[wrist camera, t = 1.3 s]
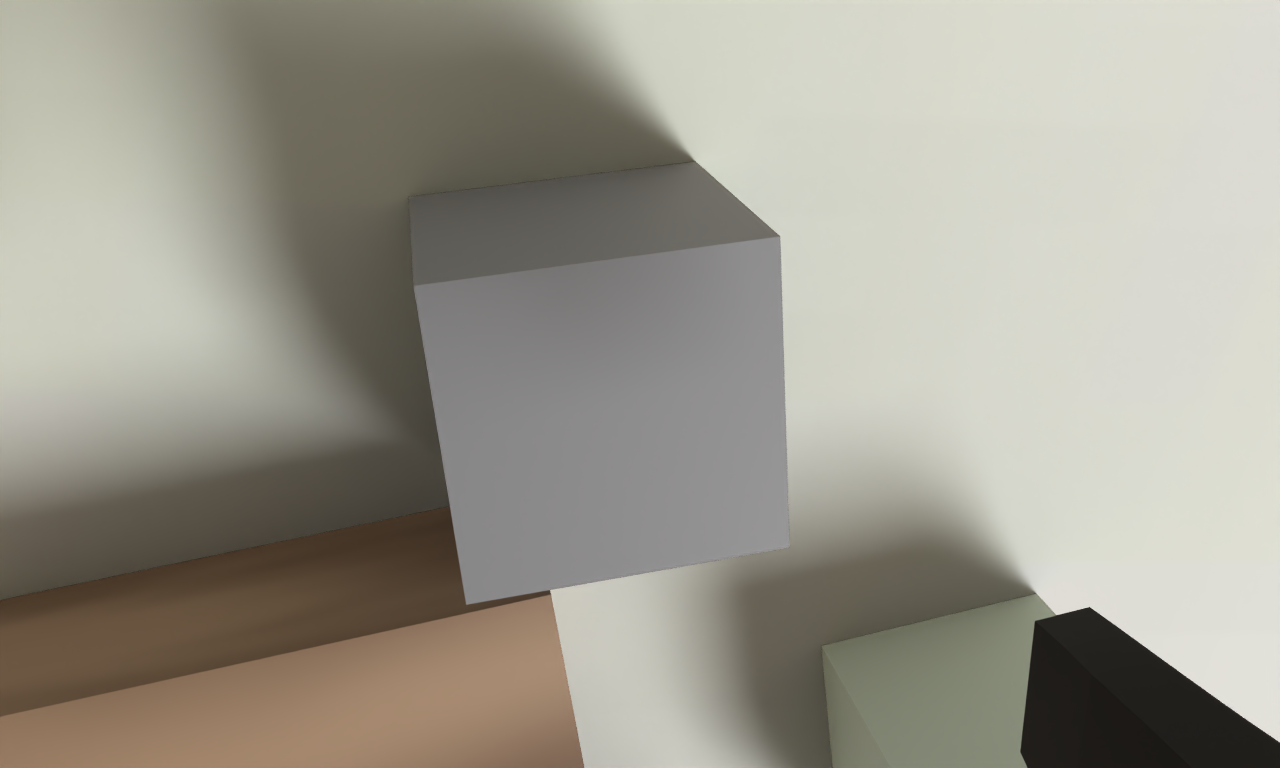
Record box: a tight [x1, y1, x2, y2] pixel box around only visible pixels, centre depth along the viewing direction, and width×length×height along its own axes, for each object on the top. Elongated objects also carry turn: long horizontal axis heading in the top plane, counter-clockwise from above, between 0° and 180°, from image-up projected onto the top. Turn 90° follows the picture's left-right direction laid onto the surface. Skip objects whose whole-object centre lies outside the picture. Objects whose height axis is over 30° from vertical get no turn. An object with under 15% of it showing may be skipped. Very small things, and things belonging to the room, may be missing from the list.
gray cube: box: [409, 161, 789, 605], centre depth 19 cm, size 5×5×5 cm
